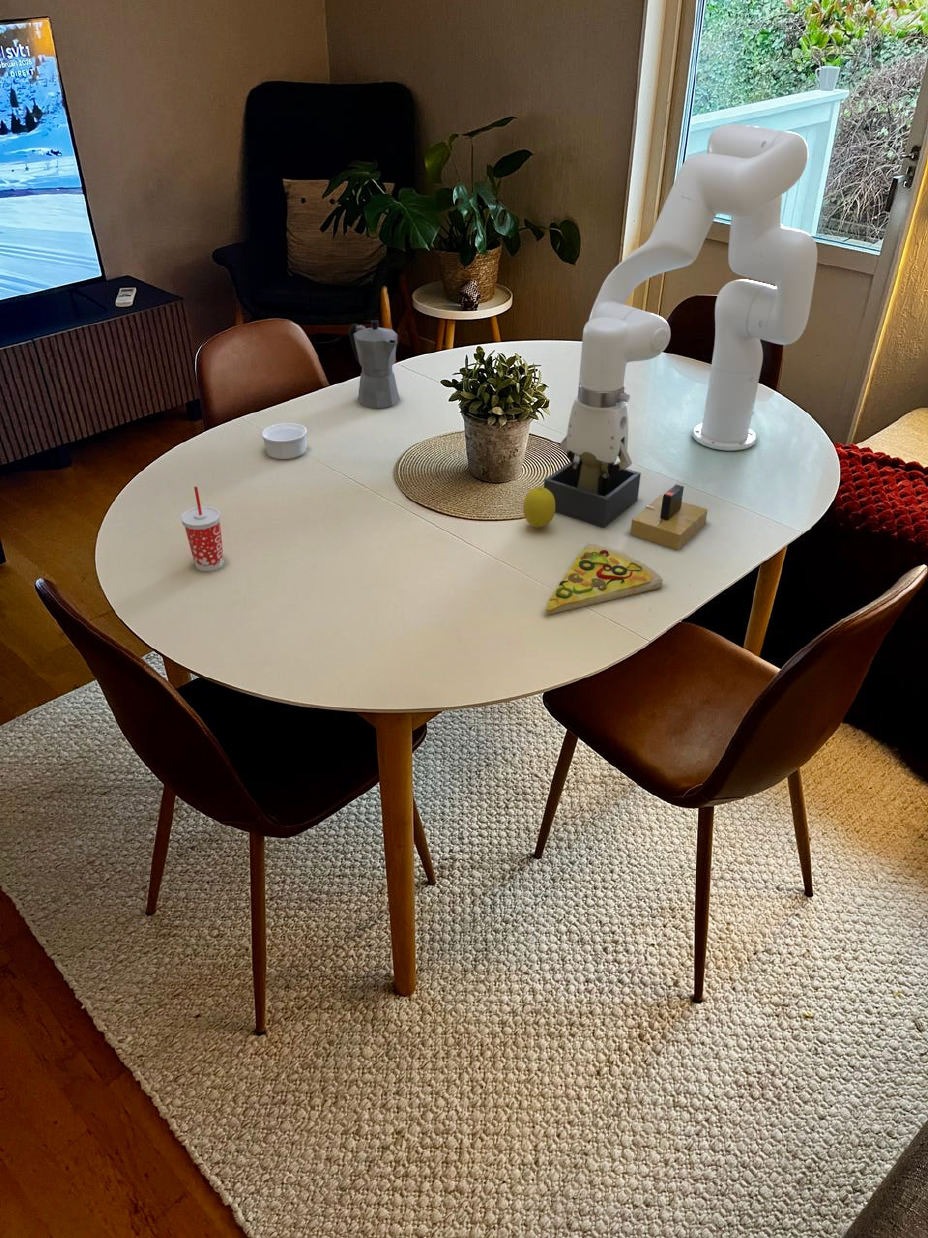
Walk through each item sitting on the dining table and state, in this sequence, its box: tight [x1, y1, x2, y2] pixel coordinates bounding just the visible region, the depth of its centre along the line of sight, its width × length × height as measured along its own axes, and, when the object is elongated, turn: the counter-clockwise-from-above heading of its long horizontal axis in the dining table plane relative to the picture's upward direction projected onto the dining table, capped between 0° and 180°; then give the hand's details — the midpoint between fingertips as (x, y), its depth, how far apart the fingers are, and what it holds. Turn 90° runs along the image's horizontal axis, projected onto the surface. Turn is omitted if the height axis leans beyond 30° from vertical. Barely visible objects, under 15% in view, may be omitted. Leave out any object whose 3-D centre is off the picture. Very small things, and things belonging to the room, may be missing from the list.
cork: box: [577, 452, 607, 497], centre depth 170 cm, size 6×6×11 cm
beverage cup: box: [180, 486, 225, 572], centre depth 152 cm, size 6×6×14 cm
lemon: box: [522, 485, 556, 529], centre depth 164 cm, size 6×6×8 cm
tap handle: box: [660, 483, 685, 521], centre depth 163 cm, size 5×2×5 cm, turn 144°
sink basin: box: [543, 461, 642, 529], centre depth 172 cm, size 13×13×6 cm
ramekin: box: [261, 422, 308, 460], centre depth 189 cm, size 9×9×4 cm
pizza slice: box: [545, 542, 663, 616], centre depth 149 cm, size 16×21×3 cm
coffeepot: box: [348, 319, 401, 410], centre depth 207 cm, size 15×9×18 cm, turn 44°
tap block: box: [629, 494, 709, 551], centre depth 165 cm, size 11×9×3 cm
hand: (591, 489), depth 171 cm, fingers open, 4 cm apart
